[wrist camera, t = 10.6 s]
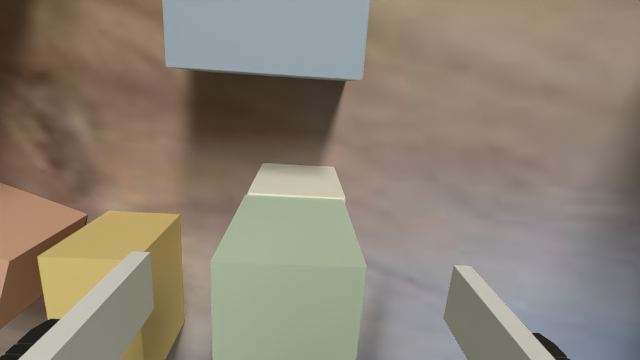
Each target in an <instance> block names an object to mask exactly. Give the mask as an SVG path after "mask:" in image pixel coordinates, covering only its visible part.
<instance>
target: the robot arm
mask: <svg viewBox="0 0 640 360" xmlns="http://www.w3.org/2000/svg"><path fill="white" fill-rule="evenodd" d="M153 309H154V301H153V286H152V272H151V258H150V252H135V251H131V252H130V253H129V254H128V255H127V256H126V257H125V258H124V259H123V260H122V261H121V262H120V263H119V264H118V265H117V266H116V267H115V268H113V269H112V270H111V271H110V272H109V273H108V274H107V275H106V276H105V277H104V278H103V279H102V280H101V281H100V282H99V283H98V284H97V285H96V286H95V287H94V288H93V289H92V290H90V291H89V292H88V293H87V294H86V295H85V296H84V297H83V298H82V299H81V300H80V301H79V302H78V303H77V304H76V305H75V306H74V307H73V308H72V309H71V310H70V311H69V312H67V313H66V314H65V315H64V316H63V317H62V318H61V319H49V320H47V321H45V322H44V323H42V324H40V325H38V326H37V327H35V328H33V329H31V330H30V331H29V332H28V333H27V334H26V335H25V336H24V337H22V338H21V339H20V340H19V341H18V342H17V345H16V344H15V345H14V346H12V347H11V348H10V349H9V350H8V351H7V352H6V354H5V355H2V356H1V357H0V360H119V359H120V358H121V357H122V355H123V354H124V352H125V351H126V349H127V348H128V346H129V345H130V343H131V342H132V340H133V339H134V337H135V336H136V334H137V333H138V331H139V330H140V328H141V327H142V326H143V324H144V323H145V321H146V320H147V318H148V317H149V315H150V314H151V312H152V311H153ZM444 320H445V322H446V324H447V325H448V327H449V329H450V330H451V332H452V334H453V335H454V337H455V339H456V341H457V342H458V344H459V346H460V347H461V349H462V351H463V352H464V354H465V356H466V358H467V359H468V360H570V359H567V356H566V355H565V354H564V353H563V352H562V351H561V350H560V349H559V348H558V347H557V346H556V345H555V344H554V343H553V342H551V341H550V340H548V339H547V338H545V337H544V336H542V335H541V334H540V333H531V332H530V331H529V330H528V329H527V328H526V327H525V325H524V324H523V323H522V322H521V321H520V320H519V319H518V318H517V317H516V316H515V314H514V313H513V312H512V311H511V310H510V309H509V308H508V307H507V306H506V304H505V303H504V302H503V301H502V300H501V299H500V298H499V297H498V296H497V295H496V293H495V292H494V291H493V290H492V289H491V288H490V287H489V286H488V285H487V284H486V282H485V281H484V280H483V279H482V278H481V277H480V276H479V275H478V274H477V272H476V271H475V270H474V269H473V268H472V267H471V266H459V265H454V267H453V272H452V277H451V282H450V288H449V293H448V298H447V303H446V308H445V313H444Z"/></svg>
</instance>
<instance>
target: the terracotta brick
mask: <svg viewBox="0 0 640 360" xmlns="http://www.w3.org/2000/svg"><path fill="white" fill-rule="evenodd" d="M87 215H88V214H85V213H83V212H80V211H77V210H74V209H72V208H69V207H66V206H63V205H61V204H58V203H55V202H52V201H50V200H47V199H44V198H41V197H38V196H36V195H33V194H30V193H27V192H25V191H22V190H19V189H16V188H14V187H11V186H8V185H5V184H2V183H0V329H1V328H2V327H3V326H5V325H6V324H7V323H8V322H9V321H11V320H12V319H13V318H14V317H16V316H17V315H18V314H19V313H21V312H22V311H23V310H24V309H26V308H27V307H28V306H29V305H31V304H32V303H33V302H34V301H36V300H37V299H38V298H39V297H41V296H42V295H43V288H42V282H41V276H40V270H39V264H38V258H37V256H39V255H41V254H42V253H44V252H45V251H47V250H48V249H50V248H51V247H53V246H55V245H56V244H58V243H59V242H61V241H62V240H64V239H65V238H67V237H69V236H70V235H72V234H73V233H75V232H76V231H78V230H80V229H81V228H83V227H84V226H85V222H86V219H87Z"/></svg>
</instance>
